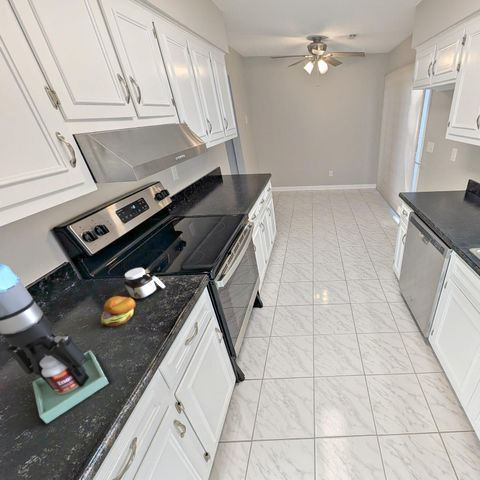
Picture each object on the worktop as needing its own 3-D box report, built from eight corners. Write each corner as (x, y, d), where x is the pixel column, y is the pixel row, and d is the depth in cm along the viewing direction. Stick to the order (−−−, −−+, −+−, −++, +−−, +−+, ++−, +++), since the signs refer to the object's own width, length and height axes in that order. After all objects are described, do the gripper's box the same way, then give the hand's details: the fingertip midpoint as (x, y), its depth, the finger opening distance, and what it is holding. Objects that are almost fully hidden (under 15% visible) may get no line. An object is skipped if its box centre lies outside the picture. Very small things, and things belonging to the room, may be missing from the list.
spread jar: (128, 298, 107) (116, 276, 102) (151, 282, 117) (141, 261, 111) (149, 302, 104) (138, 279, 98) (171, 286, 113) (162, 264, 108)
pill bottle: (66, 397, 68) (43, 371, 63) (52, 391, 70) (29, 365, 65) (91, 377, 74) (71, 350, 69) (77, 371, 75) (57, 346, 70)
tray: (38, 388, 72) (32, 381, 71) (94, 356, 81) (90, 349, 80) (46, 423, 63) (39, 416, 62) (108, 383, 72) (104, 376, 71)
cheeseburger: (105, 315, 98) (101, 293, 95) (138, 310, 103) (136, 289, 100) (98, 332, 90) (94, 309, 87) (135, 326, 95) (132, 304, 92)
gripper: (76, 307, 65) (115, 367, 76) (-4, 317, 64) (47, 376, 75) (52, 330, 59) (98, 391, 69) (-38, 341, 57) (23, 402, 68)
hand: (71, 383), depth 72 cm, fingers closed on pill bottle, 6 cm apart
